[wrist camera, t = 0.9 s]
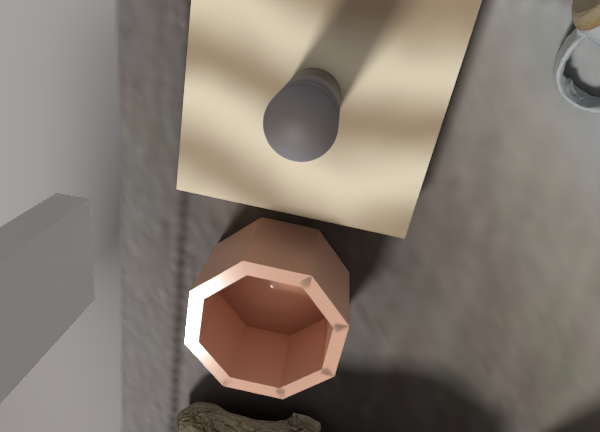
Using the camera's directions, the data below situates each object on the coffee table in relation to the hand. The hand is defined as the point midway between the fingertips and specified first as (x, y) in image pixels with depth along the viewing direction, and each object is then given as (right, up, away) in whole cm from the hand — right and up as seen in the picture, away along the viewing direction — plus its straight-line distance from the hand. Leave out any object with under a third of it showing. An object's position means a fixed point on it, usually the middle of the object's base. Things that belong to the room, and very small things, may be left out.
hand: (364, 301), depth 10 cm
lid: (0, +11, +20) cm, 22 cm away
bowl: (-3, -3, +27) cm, 28 cm away
